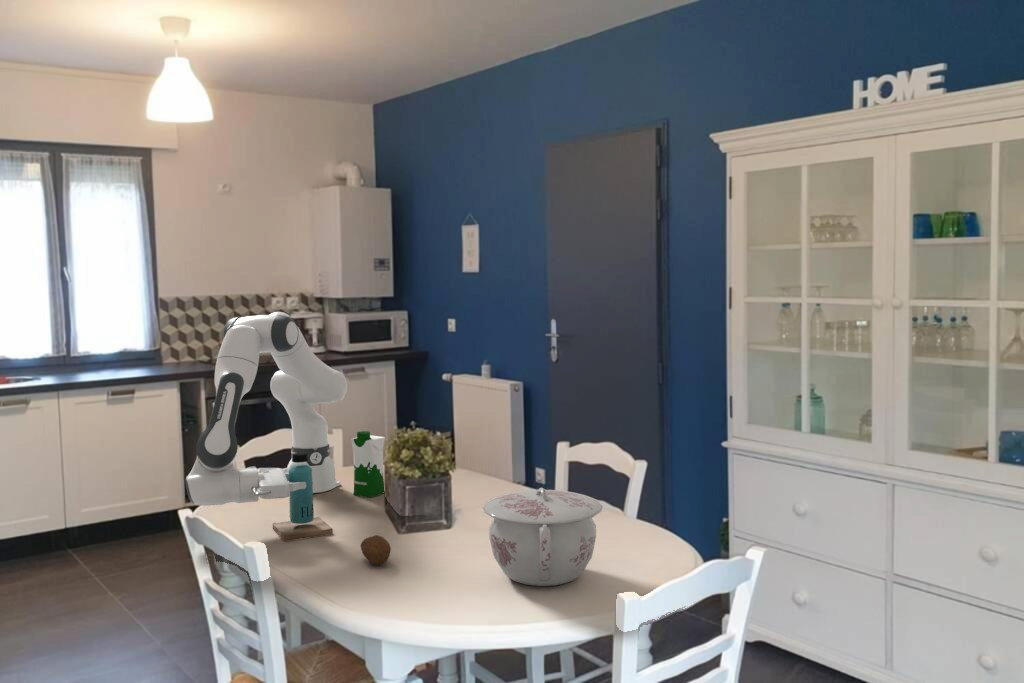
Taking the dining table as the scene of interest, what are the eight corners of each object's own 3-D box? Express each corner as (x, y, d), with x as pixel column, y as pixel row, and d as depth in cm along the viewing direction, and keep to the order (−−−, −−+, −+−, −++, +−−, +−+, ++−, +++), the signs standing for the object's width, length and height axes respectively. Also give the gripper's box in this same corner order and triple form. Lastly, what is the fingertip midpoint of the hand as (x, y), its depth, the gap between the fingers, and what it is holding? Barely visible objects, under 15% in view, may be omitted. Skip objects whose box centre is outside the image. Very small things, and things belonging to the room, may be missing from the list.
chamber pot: (532, 549, 227) (532, 468, 225) (626, 572, 210) (625, 485, 208) (457, 580, 205) (455, 491, 204) (553, 609, 188) (553, 511, 186)
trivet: (272, 528, 248) (272, 523, 248) (319, 522, 254) (319, 516, 254) (284, 541, 236) (284, 535, 236) (332, 534, 242) (332, 528, 242)
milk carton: (349, 495, 282) (347, 432, 281) (368, 489, 290) (367, 427, 288) (370, 499, 278) (369, 435, 276) (389, 492, 285) (388, 430, 284)
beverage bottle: (300, 530, 240) (298, 456, 239) (284, 526, 244) (282, 453, 243) (319, 525, 246) (317, 452, 244) (303, 521, 250) (301, 449, 248)
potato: (378, 554, 225) (378, 527, 224) (401, 566, 216) (400, 538, 215) (353, 560, 221) (353, 532, 220) (375, 572, 212) (374, 543, 211)
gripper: (252, 482, 230) (307, 477, 234) (248, 465, 249) (299, 461, 253) (253, 506, 230) (308, 501, 235) (249, 488, 249) (300, 483, 254)
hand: (304, 480), depth 244 cm, fingers open, 8 cm apart
